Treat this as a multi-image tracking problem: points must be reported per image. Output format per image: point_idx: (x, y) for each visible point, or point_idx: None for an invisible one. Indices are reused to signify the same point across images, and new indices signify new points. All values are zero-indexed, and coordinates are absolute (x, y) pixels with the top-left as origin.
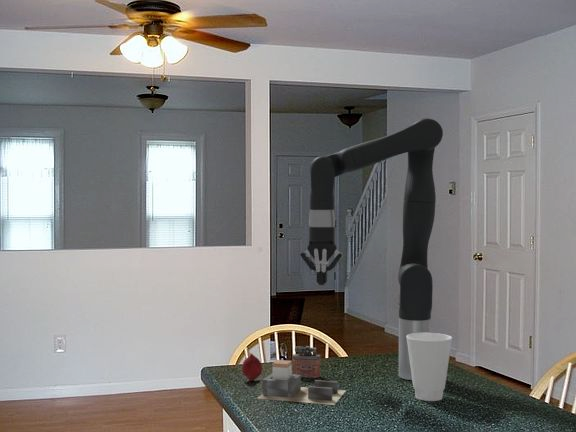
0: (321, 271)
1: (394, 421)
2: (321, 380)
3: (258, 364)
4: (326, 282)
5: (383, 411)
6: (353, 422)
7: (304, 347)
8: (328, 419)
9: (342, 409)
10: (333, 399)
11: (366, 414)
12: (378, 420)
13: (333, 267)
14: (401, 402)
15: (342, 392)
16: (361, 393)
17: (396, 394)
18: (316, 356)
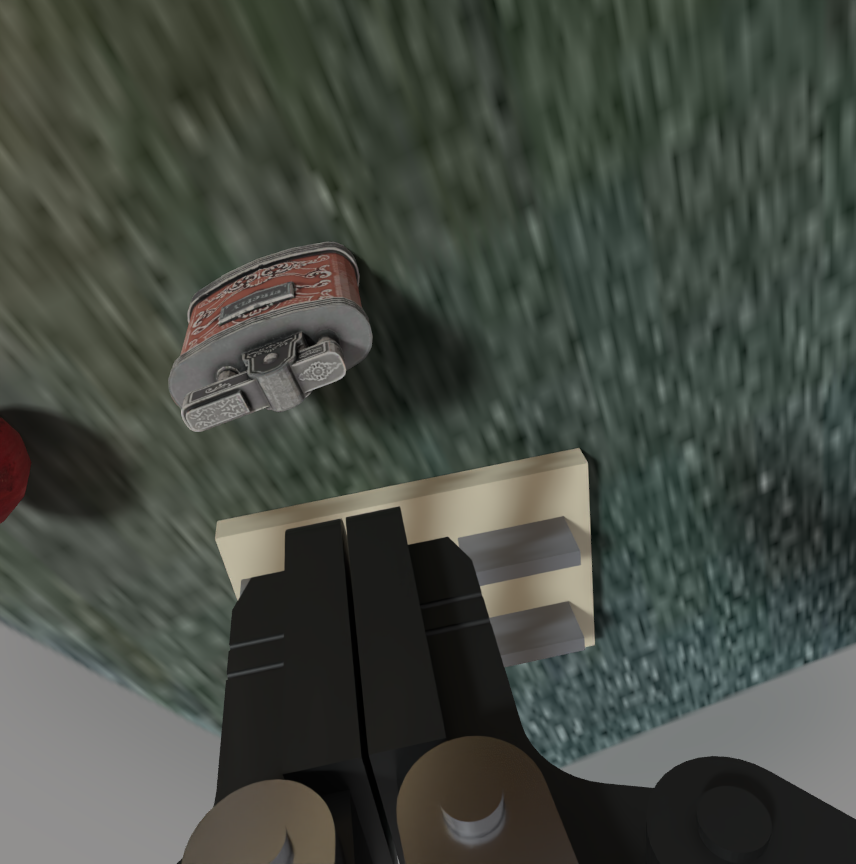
0: (358, 833)
1: (804, 622)
2: (499, 569)
3: (9, 499)
4: (454, 553)
5: (762, 553)
6: (676, 684)
7: (248, 383)
8: (591, 698)
9: (610, 600)
10: (572, 596)
11: (705, 607)
12: (752, 637)
13: (819, 853)
14: (830, 421)
15: (580, 498)
16: (638, 373)
17: (807, 311)
18: (354, 362)
